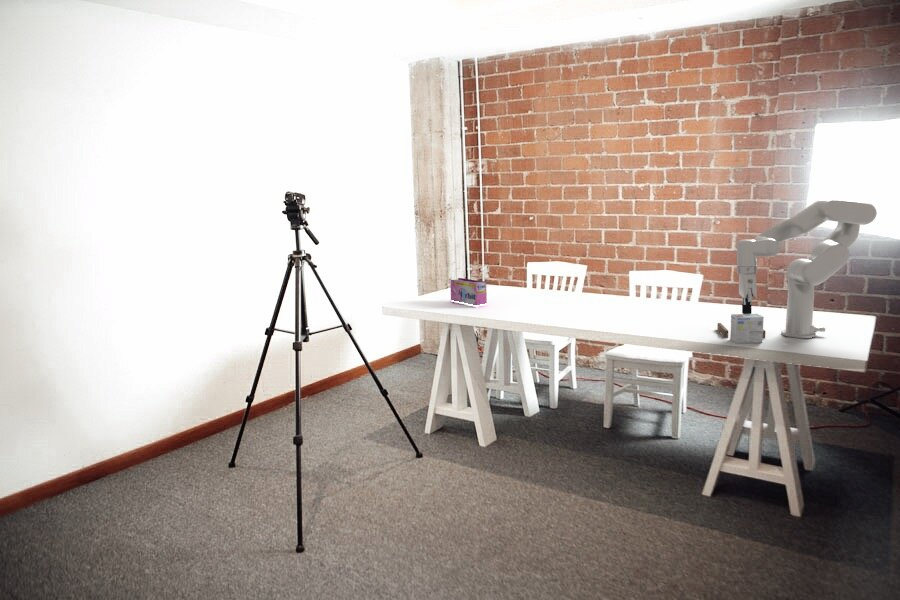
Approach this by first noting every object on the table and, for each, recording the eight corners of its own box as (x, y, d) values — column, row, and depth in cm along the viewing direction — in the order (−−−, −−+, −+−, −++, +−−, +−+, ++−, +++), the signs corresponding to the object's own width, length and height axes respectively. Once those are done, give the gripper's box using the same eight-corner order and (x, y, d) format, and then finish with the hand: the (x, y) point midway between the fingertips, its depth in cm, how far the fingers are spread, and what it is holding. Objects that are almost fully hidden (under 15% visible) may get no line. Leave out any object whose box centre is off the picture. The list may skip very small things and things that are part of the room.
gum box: (448, 302, 365) (448, 279, 362) (459, 300, 370) (458, 277, 367) (476, 308, 346) (475, 283, 344) (487, 306, 351) (486, 281, 349)
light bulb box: (756, 339, 261) (757, 313, 259) (763, 343, 254) (764, 316, 253) (729, 339, 262) (730, 313, 260) (735, 343, 255) (736, 317, 253)
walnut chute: (755, 329, 276) (755, 323, 275) (765, 338, 262) (765, 331, 261) (717, 329, 279) (717, 322, 278) (725, 337, 265) (725, 330, 264)
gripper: (761, 272, 253) (761, 317, 256) (751, 266, 267) (751, 309, 271) (741, 273, 255) (741, 318, 258) (732, 267, 269) (732, 310, 272)
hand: (746, 313), depth 264 cm, fingers closed
